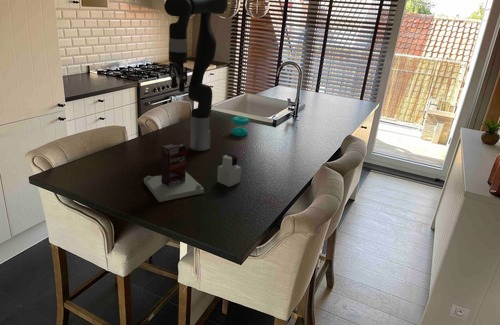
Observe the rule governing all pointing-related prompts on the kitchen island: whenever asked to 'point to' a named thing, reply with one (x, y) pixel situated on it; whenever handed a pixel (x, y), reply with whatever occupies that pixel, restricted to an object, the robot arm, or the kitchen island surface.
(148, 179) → the stud plate
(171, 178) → the supplement box
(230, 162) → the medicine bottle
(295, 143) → the kitchen island surface
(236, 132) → the donuts
